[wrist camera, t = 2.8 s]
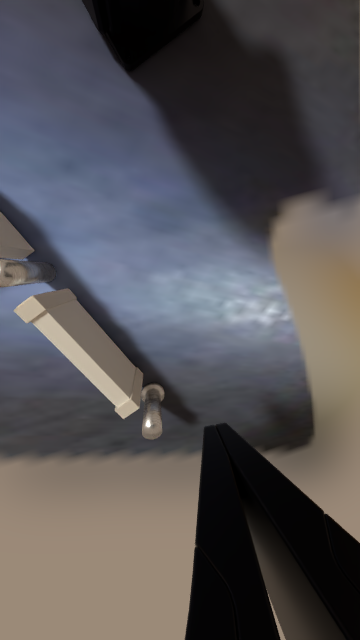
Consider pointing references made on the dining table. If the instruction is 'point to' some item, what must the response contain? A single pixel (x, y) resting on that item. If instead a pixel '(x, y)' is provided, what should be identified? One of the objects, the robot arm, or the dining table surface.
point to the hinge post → (25, 272)
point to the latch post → (152, 410)
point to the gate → (85, 346)
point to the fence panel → (12, 241)
